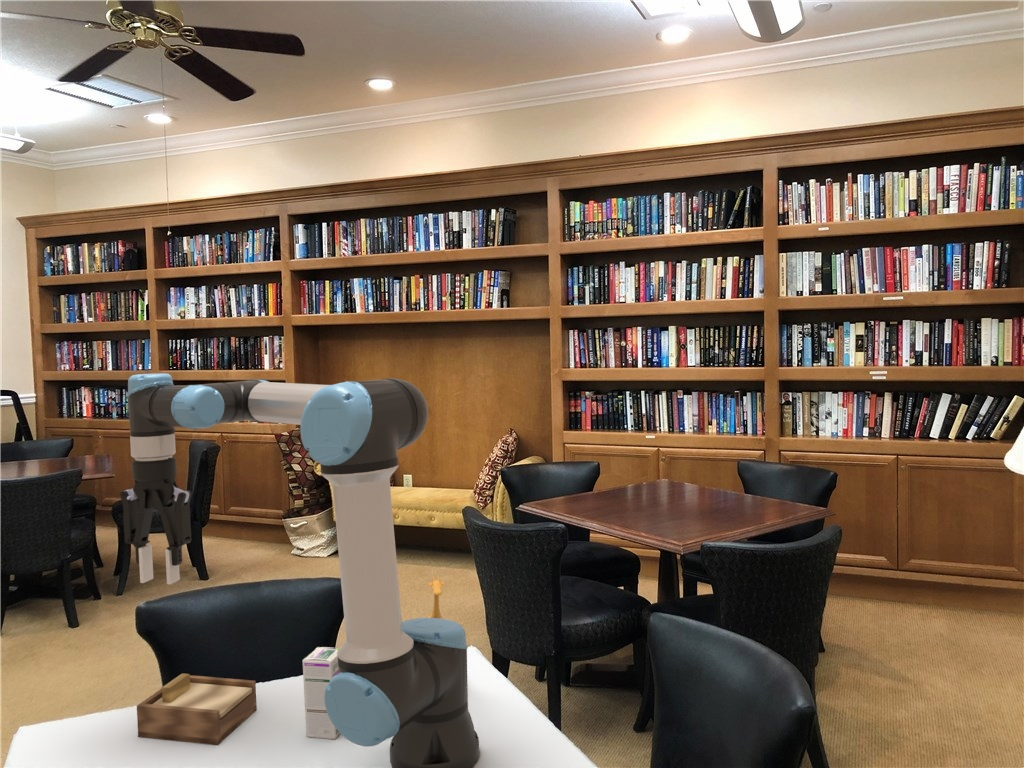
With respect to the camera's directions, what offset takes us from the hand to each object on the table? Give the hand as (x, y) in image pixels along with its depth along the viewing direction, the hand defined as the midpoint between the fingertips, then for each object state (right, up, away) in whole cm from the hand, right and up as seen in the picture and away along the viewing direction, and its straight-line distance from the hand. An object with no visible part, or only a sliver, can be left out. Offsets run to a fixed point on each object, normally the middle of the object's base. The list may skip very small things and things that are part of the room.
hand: (160, 581), depth 145 cm
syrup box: (+32, -27, -3) cm, 42 cm away
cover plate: (+8, -22, 0) cm, 24 cm away
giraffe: (+51, -25, +11) cm, 58 cm away
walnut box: (+7, -27, 0) cm, 28 cm away
